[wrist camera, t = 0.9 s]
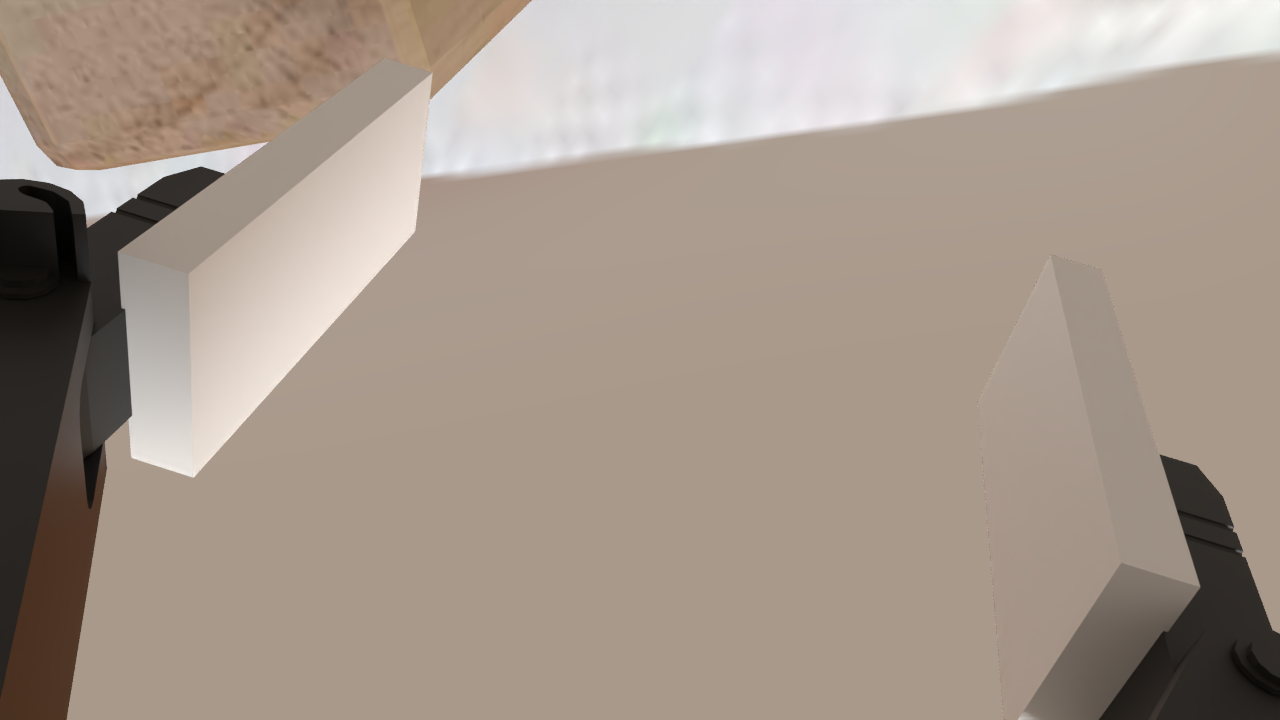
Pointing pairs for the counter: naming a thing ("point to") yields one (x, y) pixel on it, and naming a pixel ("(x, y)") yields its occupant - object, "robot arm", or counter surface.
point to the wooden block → (212, 66)
